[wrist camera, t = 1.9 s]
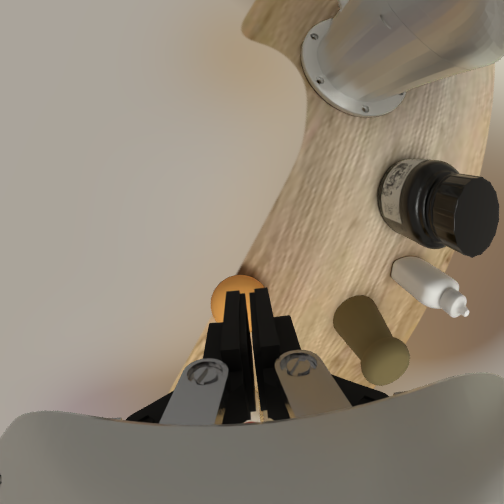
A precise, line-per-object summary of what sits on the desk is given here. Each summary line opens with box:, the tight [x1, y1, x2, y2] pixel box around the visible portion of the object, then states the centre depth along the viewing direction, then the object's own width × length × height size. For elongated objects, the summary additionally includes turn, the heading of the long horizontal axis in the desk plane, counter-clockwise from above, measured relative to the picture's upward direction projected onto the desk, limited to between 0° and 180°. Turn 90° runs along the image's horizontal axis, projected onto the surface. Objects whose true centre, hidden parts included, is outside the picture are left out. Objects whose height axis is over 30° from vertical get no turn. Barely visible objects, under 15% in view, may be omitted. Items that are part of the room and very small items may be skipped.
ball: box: [211, 275, 265, 332], centre depth 28 cm, size 6×6×6 cm
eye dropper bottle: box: [391, 256, 469, 317], centre depth 25 cm, size 4×6×12 cm
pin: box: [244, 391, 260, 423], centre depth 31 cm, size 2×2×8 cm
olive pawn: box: [333, 295, 410, 386], centre depth 27 cm, size 6×6×11 cm
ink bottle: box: [378, 159, 499, 258], centre depth 22 cm, size 10×9×12 cm
